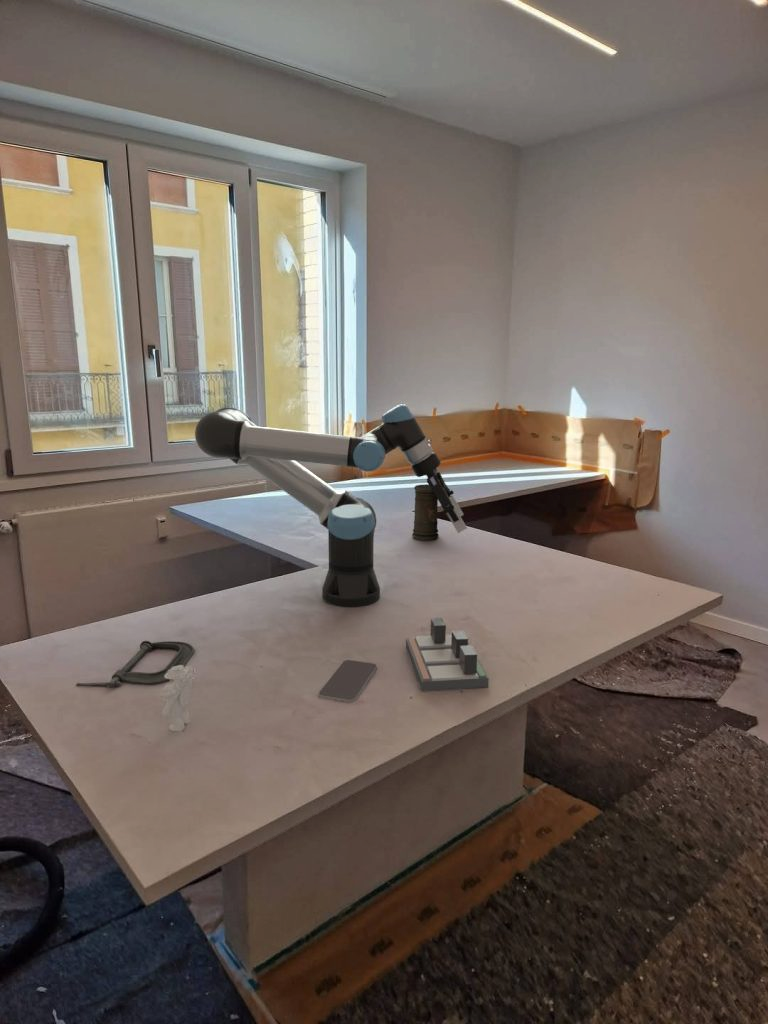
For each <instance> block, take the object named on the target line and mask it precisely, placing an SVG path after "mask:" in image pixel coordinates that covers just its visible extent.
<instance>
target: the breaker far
mask: <svg viewBox="0 0 768 1024" xmlns="http://www.w3.org/2000/svg"><path fill="white" fill-rule="evenodd" d="M446 629H447V625H446V623H445V621H444V619H443V617H431V618H430V636H431V637H432V640H433V642H434V643H445V636H446V635H447V634H446V633H447V632H446Z"/></svg>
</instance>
